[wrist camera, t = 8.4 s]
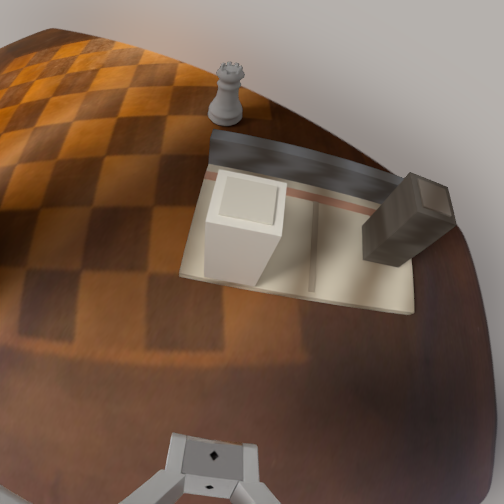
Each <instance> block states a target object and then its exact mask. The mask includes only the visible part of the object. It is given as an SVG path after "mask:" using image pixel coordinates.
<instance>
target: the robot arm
mask: <svg viewBox="0 0 504 504" xmlns="http://www.w3.org/2000/svg"><path fill="white" fill-rule="evenodd" d="M186 438H187V439H186ZM183 493H190V494H197V495H206V496H213V497H220V498H229V499H230V501H231V503H232V504H281V503H280V502H279V501H278V500H277V499H276V497H275V496H274V495H273V494H272V493H271V491H270V490H269V489H268V488H267V486H266V485H265V484H264V483H261V482H259V464H258V447H257V445H256V444H247V443H239V442H229V441H220V440H211V439H205V438H198V437H193V436H187V435H183V434H178V433H172V436H171V441H170V446H169V451H168V456H167V462H166V467H165V470H160V471H158V472H157V473H156V474H155V475H154V476H153V477H151V478H150V479H149V480H148V481H147V482H145V483H144V484H143V485H142V486H140V487H139V488H138V489H137V490H136V491H134V492H133V493H132V494H131V495H129V496H128V497H127V498H125V499H124V500H123V501H122V502H120V503H119V504H174V503H175V502H176V501H177V500H178V499H179V498H180V497H181V496H182V495H183ZM0 504H33V503H31V502H29V501H27V500H26V499H24V498H22V497H20V496H18V495H17V494H15V493H13V492H12V491H10V490H8V489H7V488H5V487H3V486H2V485H0Z"/></svg>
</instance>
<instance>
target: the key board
mask: <svg viewBox="0 0 504 504" xmlns="http://www.w3.org/2000/svg"><path fill="white" fill-rule="evenodd" d="M219 169H221V170H226V171H231V172H236V173H242V174H247V175H251V176H256V177H261V178H266V179H270V180H275V181H280V182H284V183H287V188H286V199H285V209H284V218H283V228H282V237H281V239H280V241H279V242H278V244H277V246H276V248H275V250H274V252H273V254H272V256H271V257H270V259H269V261H268V263H267V265H266V267H265V269H264V270H263V272H262V274H261V276H260V278H259V280H258V281H257V283H256V285H255V286H249V285H244V284H239V283H233V282H228V281H223V280H217V279H212V278H207V277H204V250H205V221H206V217H207V213H208V209H209V205H210V201H211V198H212V194H213V190H214V186H215V182H216V178H217V175H218V171H219ZM403 180H404V178H402V177H399V176H396V175H393V174H390V173H387V172H384V171H381V170H378V169H375V168H372V167H369V166H366V165H363V164H360V163H356V162H353V161H350V160H346V159H343V158H340V157H336V156H332V155H329V154H325V153H322V152H318V151H314V150H310V149H306V148H302V147H298V146H294V145H290V144H286V143H282V142H277V141H273V140H268V139H264V138H259V137H254V136H249V135H244V134H239V133H234V132H228V131H223V130H217V129H213V132H212V134H211V137H210V149H209V164H208V167H207V171H206V173H205V177H204V181H203V184H202V188H201V191H200V195H199V198H198V202H197V205H196V209H195V213H194V216H193V220H192V224H191V227H190V231H189V235H188V239H187V243H186V247H185V251H184V254H183V259H182V263H181V267H180V271H179V276H180V277H184V278H189V279H193V280H199V281H204V282H209V283H214V284H219V285H224V286H230V287H235V288H240V289H246V290H251V291H257V292H262V293H268V294H274V295H280V296H285V297H291V298H297V299H303V300H309V301H316V302H322V303H328V304H335V305H341V306H348V307H355V308H361V309H368V310H375V311H383V312H390V313H397V314H405V315H410V314H413V313H414V288H413V272H412V259H410V260H408V261H407V262H406V263H404V264H403V265H401V266H400V267H393V266H389V265H384V264H379V263H375V262H370V261H365V260H363V251H362V225H363V224H364V223H365V222H366V221H367V220H368V219H369V218H370V216H371V215H372V214H373V213H374V212H375V211H376V210H377V209H378V208H379V207H380V205H381V204H382V203H383V202H384V201H385V200H386V199H387V198H388V197H389V195H390V194H391V193H392V192H393V191H394V190H395V189H396V188H397V186H398V185H399V184H400V183H401V182H402V181H403Z"/></svg>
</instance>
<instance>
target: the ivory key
mask: <svg viewBox="0 0 504 504" xmlns="http://www.w3.org/2000/svg"><path fill="white" fill-rule="evenodd" d="M286 188H287V183H284V182H280V181H275V180H270V179H266V178H261V177H256V176H251V175H247V174H242V173H236V172H231V171H226V170H221V169H219V171H218V175H217V178H216V182H215V186H214V190H213V194H212V198H211V201H210V205H209V209H208V213H207V217H206V221H205V250H204V277H207V278H212V279H217V280H223V281H228V282H233V283H239V284H244V285H249V286H255V285H256V283H257V281H258V280H259V278H260V276H261V274H262V272H263V270H264V269H265V267H266V265H267V263H268V261H269V259H270V257H271V256H272V254H273V252H274V250H275V248H276V246H277V244H278V242H279V241H280V239H281V237H282V228H283V218H284V209H285V199H286Z"/></svg>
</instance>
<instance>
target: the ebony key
mask: <svg viewBox="0 0 504 504" xmlns="http://www.w3.org/2000/svg"><path fill="white" fill-rule="evenodd" d="M455 226H456V221H455V216H454V211H453V207H452V203H451V199H450V195H449V191H448V187H446V186H443V185H441V184H439V183H436V182H434V181H431V180H428V179H426V178H424V177H421V176H419V175H416V174H413V173H411V172H410V173H409V174H408V175H407V176H406V177H405V178H404V180H403V181H402V182H401V183H400V184H399V185H398V186H397V188H396V189H395V190H394V191H393V192H392V193H391V194H390V195H389V197H388V198H387V199H386V200H385V201H384V202H383V203H382V204H381V205H380V207H379V208H378V209H377V210H376V211H375V212H374V213H373V214H372V215H371V216H370V218H369V219H368V220H367V221H366V222H365V223H364V224H363V225H362V251H363V260H365V261H370V262H375V263H379V264H384V265H389V266H393V267H400V266H401V265H403V264H404V263H406V262H407V261H408V260H410V259H411V258H413V257H414V256H416V255H417V254H418V253H420V252H421V251H423V250H424V249H425V248H427V247H428V246H429V245H431V244H432V243H434V242H435V241H436V240H438V239H439V238H440V237H442V236H443V235H444V234H446V233H447V232H448V231H450V230H451V229H452V228H454V227H455Z"/></svg>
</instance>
